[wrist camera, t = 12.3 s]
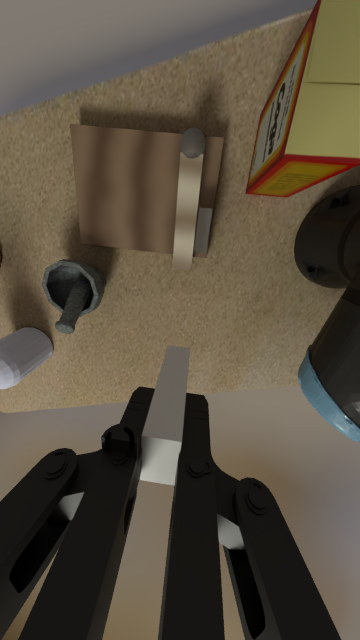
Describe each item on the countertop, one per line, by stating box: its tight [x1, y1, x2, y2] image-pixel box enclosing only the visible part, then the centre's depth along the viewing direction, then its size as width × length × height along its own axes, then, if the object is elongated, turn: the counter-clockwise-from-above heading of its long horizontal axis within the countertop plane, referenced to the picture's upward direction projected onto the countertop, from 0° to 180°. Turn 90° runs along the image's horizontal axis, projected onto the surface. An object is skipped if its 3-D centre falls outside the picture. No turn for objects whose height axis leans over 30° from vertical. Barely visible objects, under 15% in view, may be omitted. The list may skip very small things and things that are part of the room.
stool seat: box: [70, 124, 224, 258], centre depth 31 cm, size 22×16×6 cm
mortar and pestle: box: [42, 260, 106, 334], centre depth 34 cm, size 11×9×12 cm
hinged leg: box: [172, 127, 205, 271], centre depth 29 cm, size 18×3×3 cm, turn 175°
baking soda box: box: [246, 0, 360, 197], centre depth 22 cm, size 10×6×16 cm
